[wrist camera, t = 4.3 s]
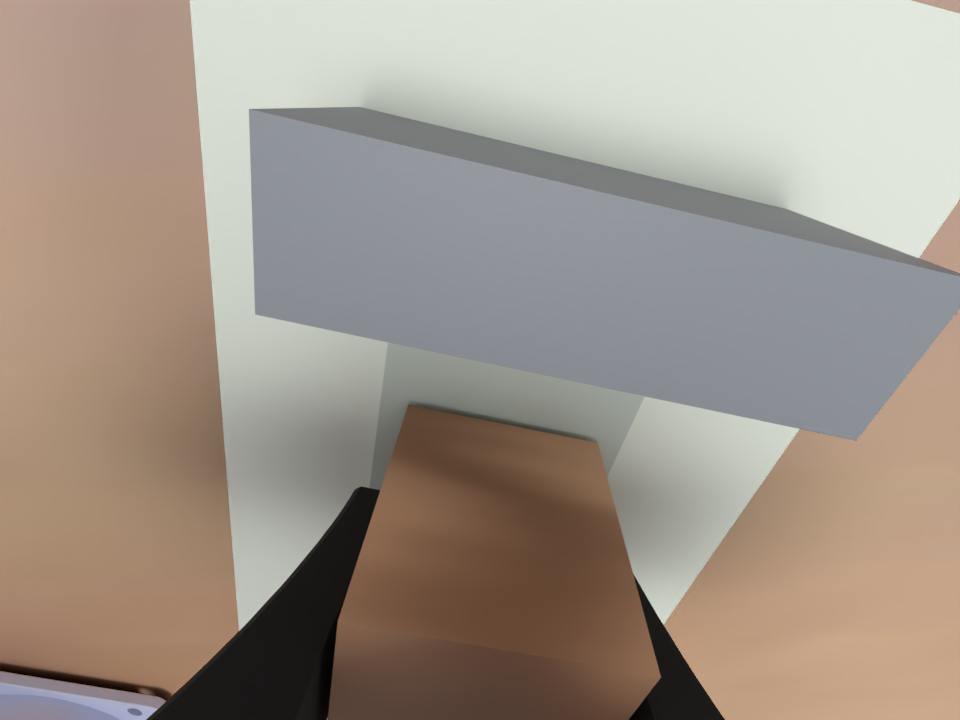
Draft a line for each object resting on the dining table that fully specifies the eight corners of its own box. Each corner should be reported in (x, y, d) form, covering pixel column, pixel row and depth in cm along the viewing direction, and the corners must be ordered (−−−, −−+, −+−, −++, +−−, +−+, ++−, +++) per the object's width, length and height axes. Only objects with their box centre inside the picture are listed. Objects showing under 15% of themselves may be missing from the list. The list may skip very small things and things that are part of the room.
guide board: (250, 669, 16) (179, 825, 13) (198, -179, 6) (-226, -566, 3) (580, 724, 17) (600, 886, 13) (1031, 47, 7) (1597, -14, 3)
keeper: (382, 561, 12) (320, 790, 8) (408, 404, 9) (337, 620, 5) (534, 589, 12) (547, 825, 8) (598, 443, 10) (660, 676, 6)
